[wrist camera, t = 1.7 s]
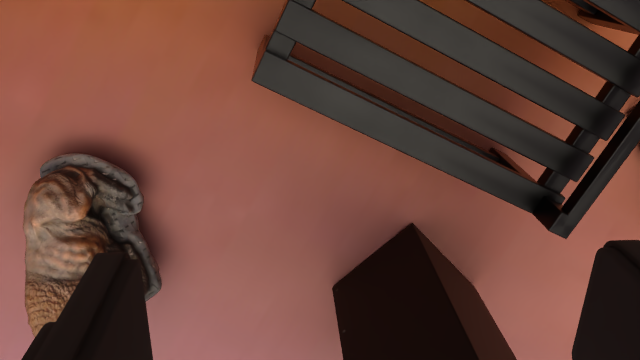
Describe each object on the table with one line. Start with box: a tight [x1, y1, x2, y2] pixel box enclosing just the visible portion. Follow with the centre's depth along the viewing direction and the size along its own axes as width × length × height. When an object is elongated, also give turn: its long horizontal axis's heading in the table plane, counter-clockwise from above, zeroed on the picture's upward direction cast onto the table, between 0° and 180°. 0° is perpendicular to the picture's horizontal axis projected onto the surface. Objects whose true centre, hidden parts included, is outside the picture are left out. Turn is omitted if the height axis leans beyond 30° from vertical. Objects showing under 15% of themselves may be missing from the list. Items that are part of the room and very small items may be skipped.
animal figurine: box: [23, 153, 162, 337], centre depth 33 cm, size 12×7×10 cm, turn 11°
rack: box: [252, 0, 640, 239], centre depth 29 cm, size 18×12×10 cm, turn 63°
